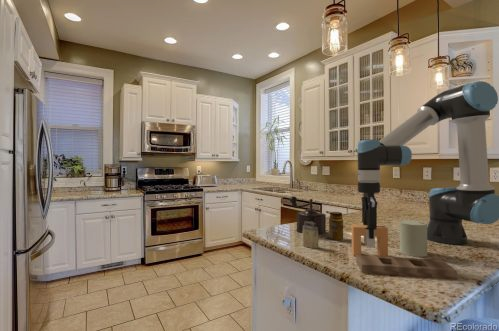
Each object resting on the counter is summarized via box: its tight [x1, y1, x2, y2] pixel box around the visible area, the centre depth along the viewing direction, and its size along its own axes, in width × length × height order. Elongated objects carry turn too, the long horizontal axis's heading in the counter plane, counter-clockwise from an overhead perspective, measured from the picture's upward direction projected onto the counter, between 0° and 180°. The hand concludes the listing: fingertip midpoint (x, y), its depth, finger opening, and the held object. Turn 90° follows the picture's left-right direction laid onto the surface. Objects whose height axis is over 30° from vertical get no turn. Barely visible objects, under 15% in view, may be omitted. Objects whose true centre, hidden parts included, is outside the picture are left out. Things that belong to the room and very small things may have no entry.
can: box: [399, 219, 429, 258], centre depth 102 cm, size 9×9×12 cm
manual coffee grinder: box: [288, 195, 327, 235], centre depth 133 cm, size 16×11×18 cm
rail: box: [355, 254, 458, 280], centre depth 85 cm, size 26×9×2 cm, turn 79°
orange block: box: [351, 224, 389, 257], centre depth 100 cm, size 12×4×10 cm, turn 79°
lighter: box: [302, 221, 319, 249], centre depth 110 cm, size 7×4×10 cm, turn 42°
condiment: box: [322, 211, 348, 243], centre depth 121 cm, size 7×8×12 cm
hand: (369, 245), depth 100 cm, fingers closed on orange block, 4 cm apart
